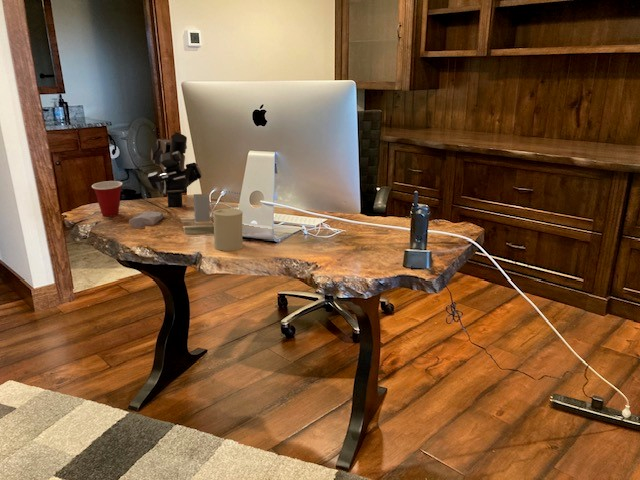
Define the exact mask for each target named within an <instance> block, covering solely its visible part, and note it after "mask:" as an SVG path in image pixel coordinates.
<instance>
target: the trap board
mask: <svg viewBox="0 0 640 480" xmlns="http://www.w3.org/2000/svg"><path fill="white" fill-rule="evenodd" d="M211 219H214V215H213V216H210V221H200V222H196V221H195V217H194V216H192V217H180V221H181V223H194V224H195V225H183V226H182V228H183V233H184V234H185V235H190V234H206V233H207V234H209V233H210V234H211V233H214V221H212V220H211ZM212 236H213V237H214V234H212V235H207V237H212ZM195 237H199V235H195V236H190V238H195Z"/></svg>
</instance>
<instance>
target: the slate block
mask: <svg viewBox="0 0 640 480" xmlns="http://www.w3.org/2000/svg"><path fill="white" fill-rule="evenodd" d="M193 211H194V215H193V217H195V221H196V222H200V221H210V217H211V212H210V196H209V194H208V193H201V194H200V193H196V194H193Z"/></svg>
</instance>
